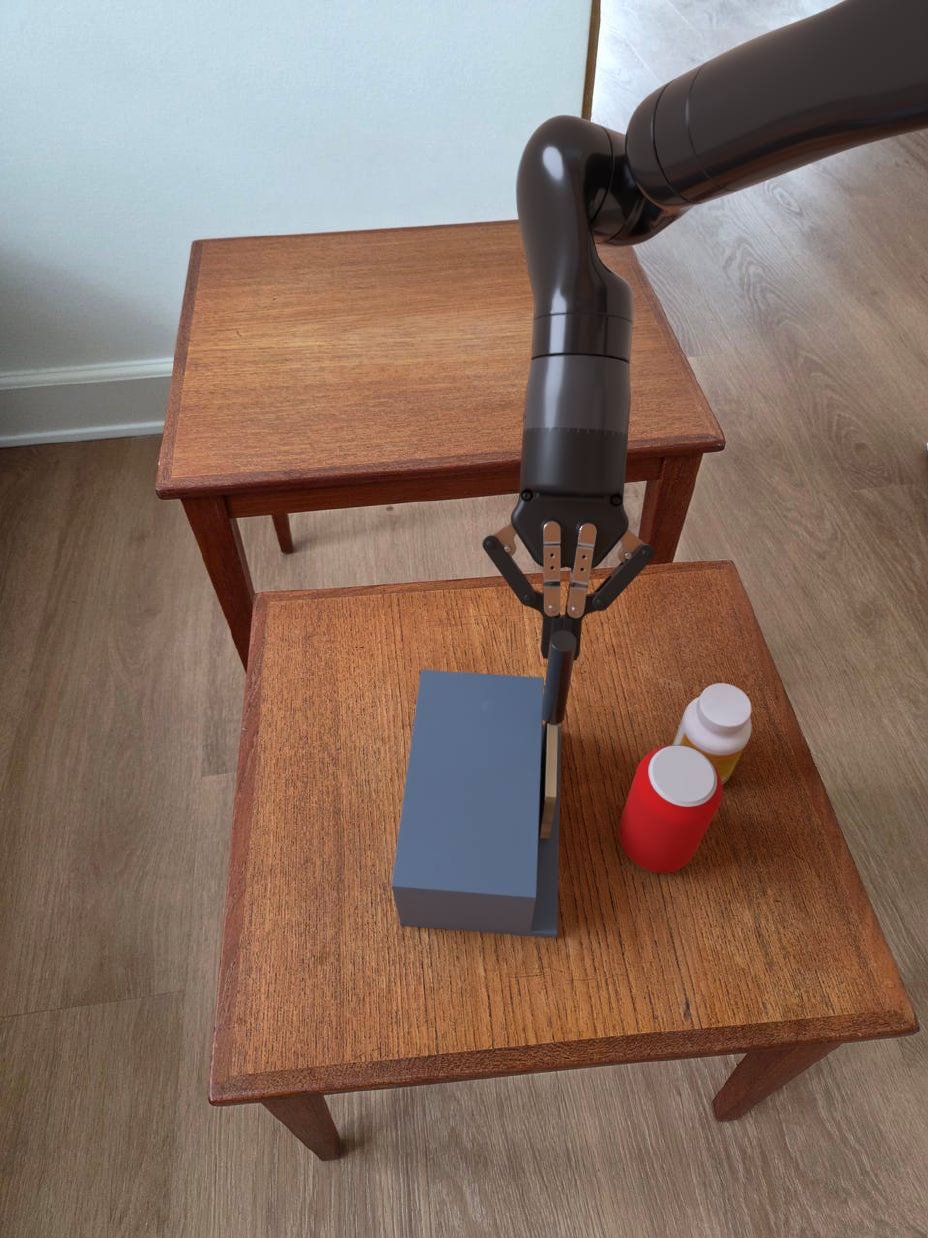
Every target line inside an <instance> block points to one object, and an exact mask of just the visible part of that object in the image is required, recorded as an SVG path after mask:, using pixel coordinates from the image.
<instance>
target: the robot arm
mask: <svg viewBox="0 0 928 1238" xmlns="http://www.w3.org/2000/svg"><path fill="white" fill-rule="evenodd" d="M628 121H629V122H628V123H627V127H626V132H625V133H622V132H620V131H617V130H615V129H612V128H609V127H606V126H604V125H601V124H598V123H596V122H593V121H591V120H589V119H585V118H582V117H579V116H575V115H571V114H570V115H569V114H560V115H555V116H552V117H550V118H548V119H546V120H545V121H544V122H542V123H541V124H540V125H539V126H538V127H537V128H536V129H535V130H534V131H533V133H532V134H531V135H530V137H529V138H528V140H527V142H526V144H525V146H524V148H523V150H522V153H521V156H520V159H519V162H518V166H517V171H516V178H515V205H516V213H517V218H518V224H519V230H520V235H521V241H522V245H523V252H524V255H525V256H524V257H525V260H526V267H527V268H526V269H527V274H528V278H529V284H530V288H531V293H532V298H533V299H532V300H533V318H532V330H531V331H532V332H531V348H530V364H529V365H530V366H529V371H528V377H527V382H526V386H525V394H524V405H523V413H522V438H521V439H522V440H521V454H520V456H521V457H520V471H519V488H518V489H519V490H518V500H517V502H516V505H515V507H514V508H513V510H512V512H511V513H510V522H509V523H507V524H506V525H504V526H503V527H502V528H500V529H499V530H498V531H496V532H495V533H493V534H489V535H487V536H485V538H484V539H483V540H482V543H481V545H482V548H483V550H484V552H485V553H486V554H487V556H488V558H489V559H490V560H491V562H492V563H493V564H494V566H495V568H496V569H497V571H499V573H500V574H501V576H502V578H503V579H504V580H505V582H506V583H507V584H508V586H509V587H510V589H511V590H512V592H513V594H514V595H515V596H516V597H517V599H518V600H519V602H520V604H522V605H523V606H524V607H529V608H531V609H533V610H536V611H538V612H539V613H540V615H541V616H542V621H541V637H540V638H541V639H540V653H541V656H542V659H546V660H548V654H549V646H550V638H551V636H552V635H553V634H554V633H555V632H557V631H561V630H564V631H568V632H570V633H572V634H573V635H574V636H575V638H576V649H575V655H574V661H575V662H576V661H577V660H578V659H579V656H580V653H581V640H582V639H581V638H582V625H583V620H584V618H585V617H586V616H587V615H589V614H591V613H595V612H604V611H606V610H607V609H608V608H609V607H610V606H611V605H612V604H613V603H614V602H615V601H616V600H617V598H618V597H620V595H621V594H622V593H623V592H624V591H625V589H627V588H628V587H629V585H630V584H632V582H633V581H634V580H635V579H636V578H637V576H638V575H639V574H640V573H641V572H642V571H643V570H644V569H645V568H646V567H647V565H648V564H650V562H651V561H652V560H653V559H654V558H655V555H656V552H655V549H654V547H653V546H652V545H650V544H648V543H645V542H644V541H643V540H642V539H641V538H639V537H638V536H637V535H636V534H635V533H634V532H632V531H631V530H630V529H629V527H630V526H629V525H630V521H629V517H628V515H627V512H626V510H625V507H624V495H625V483H626V471H627V469H626V468H627V457H628V456H627V455H628V443H629V429H630V420H631V419H630V417H631V405H632V388H631V387H632V386H631V356H632V343H633V331H634V330H633V329H634V320H635V319H634V317H635V295H634V290H633V288H632V286H631V285H630V283H629V282H628V280H626V279H625V278H624V277H622V276H621V275H619V274H618V273H616V272H615V271H613V269H611V268H609V267H608V266H607V265H606V264H605V263H604V262H603V261H602V260H601V258H600V256H599V253H598V250H597V246H601V247H606V248H615V249H616V248H627V247H632V246H636V245H640V244H642V243H645V242H647V241H650V240H651V239H652V238H654V237H656V236H657V235H659V234H660V233H662V232H663V231H664V230H665V229H666V228H668V227H669V226H671V225H672V224H673V223H675V222H677V221H678V220H679V219H681V218H682V217H683V216H684V215H686V213H688V212H689V211H690V210H692V208H694V207H696V206H699V205H702V204H705V203H708V202H711V201H715V200H717V199H720V198H723V197H726V196H728V195H732V194H734V193H737V192H740V191H743V190H746V189H748V188H751V187H754V186H756V185H759V184H762V183H764V182H767V181H769V180H773V179H775V178H777V177H780V176H782V175H785V174H787V173H790V172H793V171H797V170H798V169H801V168H804V167H805V166H808V165H811V164H813V163H817V162H819V161H822V160H823V159H827V158H829V157H833V156H835V155H837V154H840V153H843V152H846V151H850V150H853V149H855V148H858V147H862V146H864V145H868V144H872V143H876V142H879V141H883V140H887V139H890V138H895V137H898V136H903V135H906V134H911V133H915V132H920V131H925V130H928V0H842V1H841V2H838V3H836V4H834V5H833V6H831V7H828V8H826V9H824V10H822V11H819V12H817V13H815V14H812V15H809V16H807V17H805V18H802V19H800V20H797V21H794V22H792V23H789V24H786V25H784V26H781V27H778V28H776V29H774V30H771V31H768V32H766V33H763V34H761V35H759V36H756V37H754V38H751V39H750V40H748V41H746V42H743V43H741V44H739V45H737V46H735V47H733V48H731V49H729V50H727V51H725V52H723V53H721V54H719V55H717V56H715V57H712V58H711V59H709V60H707V61H706V62H703V63H701V64H700V65H698V66H696V67H694V68H692V69H690V70H688V71H687V72H684V73H683V74H681V75H679V76H677V77H676V78H674V79H672V80H670V81H668V82H666V83H664V84H662V85H661V86H659V87H658V88H657V89H655V90H654V91H652V92H650V93H649V94H648V95H647V96H646V97H645V98H644V99H643V100H642V101H641V102H640V103H639V104H638V106H637V107H636V108H635V109H634V111H633V113H632V114H631V117H630V119H629V120H628ZM516 535H517V536H518V538H519V540H520V542H521V543H522V544H523V546H524V547H525V549H526V550H527V552H528V553H529V555H530V557H531V558H532V560H533V561H534V562H535V564H537V565H538V566H540V567H541V568H542V591H539V590H537V589H535V588H534V587H533V585H532V584H531V583H530V580H528V578H527V577H526V575H525V574H524V572H523V571H522V570H521V568H520V566H519V565H518V564H517V563H516V561H515V559H514V558H513V556H514V555H515V553H516V552H517V545H516V543H515V537H516ZM619 542H620V548H619V549H618V551H617V558H618V561H620V563H619V564H618V565H617V566H616V567H615V568H613V570H612V571H611V573H610V574H609V575H608V576H607V577H606V578H605V579H604V580H603V581H602V582H601V584H599V585H598V587H597V588H596V589H595V590H594V591H593V592H590V593H588V588H589V584H590V578H591V577H590V576H591V570H593V569H595V568H597V567H598V566H599V565H600V564H602V562H603V561H604V560H605V559H606V558H607V556H608V555H609V554H610V553H611V551H612V550H613V549H614V548H615V547H616V545H617V544H618V543H619ZM563 568H568V569H570V572H569V578H568V579H569V580H568V589H567V595H566V602H565V605H564V614H561V610H562V608H561V606H562V605H561V604H562V603H561V601H562V600H561V597H562V595H561V586H562V585H561V583H562V582H561V581H562V580H561V579H562V578H561V577H562V576H561V575H562V573H561V571H562V570H561V569H563Z"/></svg>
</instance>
